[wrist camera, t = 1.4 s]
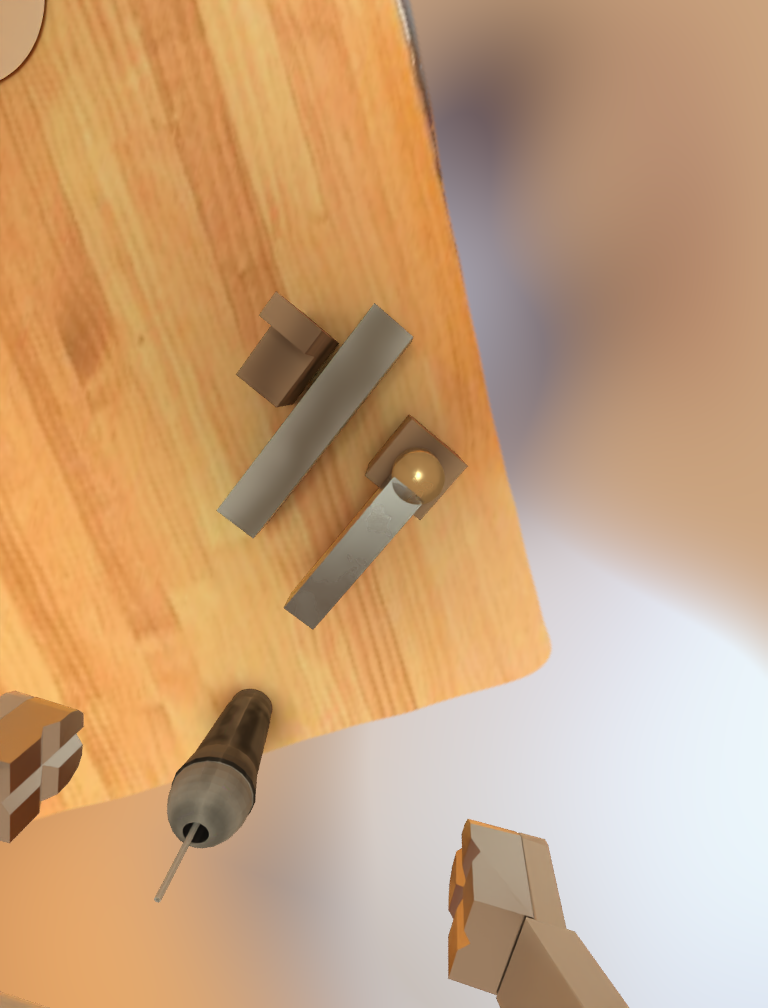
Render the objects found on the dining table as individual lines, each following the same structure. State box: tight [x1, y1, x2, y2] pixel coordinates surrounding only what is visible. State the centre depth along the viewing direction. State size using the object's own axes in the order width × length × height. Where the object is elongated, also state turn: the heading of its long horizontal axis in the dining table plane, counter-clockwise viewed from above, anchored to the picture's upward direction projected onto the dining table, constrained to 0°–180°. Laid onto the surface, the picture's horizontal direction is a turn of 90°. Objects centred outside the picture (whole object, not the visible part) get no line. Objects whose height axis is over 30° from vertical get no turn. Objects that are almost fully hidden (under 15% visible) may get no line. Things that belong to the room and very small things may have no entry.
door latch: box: [217, 292, 467, 538], centre depth 41 cm, size 19×22×10 cm
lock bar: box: [284, 448, 445, 629], centre depth 39 cm, size 17×4×3 cm, turn 141°
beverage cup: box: [154, 689, 272, 902], centre depth 43 cm, size 7×7×20 cm
